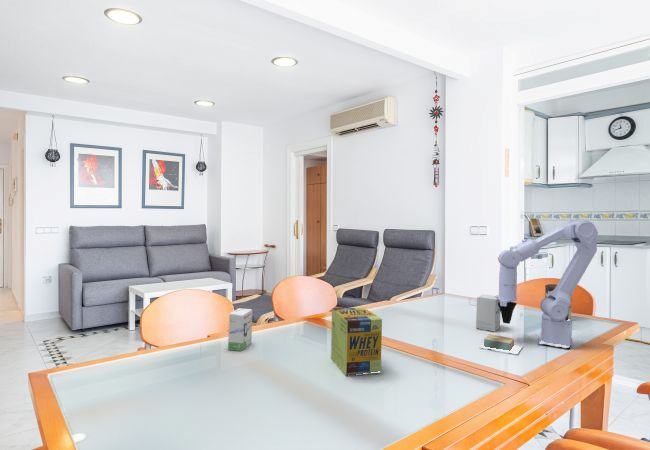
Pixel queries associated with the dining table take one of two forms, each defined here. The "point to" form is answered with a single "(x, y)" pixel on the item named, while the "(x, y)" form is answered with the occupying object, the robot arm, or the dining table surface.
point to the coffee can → (550, 288)
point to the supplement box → (488, 313)
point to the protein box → (356, 340)
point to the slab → (499, 342)
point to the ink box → (240, 329)
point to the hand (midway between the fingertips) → (506, 322)
